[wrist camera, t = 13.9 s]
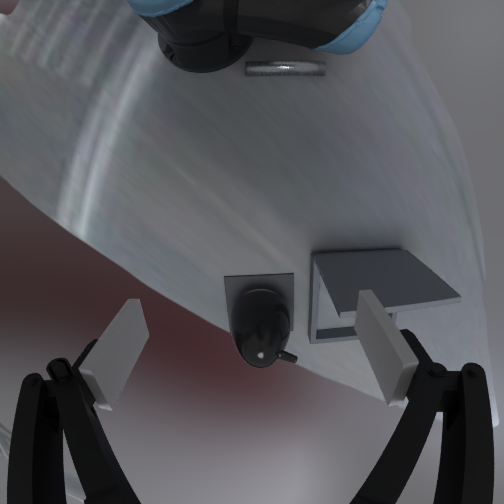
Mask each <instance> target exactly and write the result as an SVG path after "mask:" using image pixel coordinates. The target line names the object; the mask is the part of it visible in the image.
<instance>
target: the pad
mask: <svg viewBox="0 0 504 504" xmlns="http://www.w3.org/2000/svg"><path fill="white" fill-rule="evenodd" d="M224 282H225V291H226V300H227V309H228V317H229V326H230V314H231V310H232V307H233V305H234V303H235V302H236V301H237V300H238V299H239V298H240V297H241V296H243V295H244V294H245V293H247V292H249V291H252V290H255V289H266V290H270V291H272V292H274V293H276V294H278V295H279V296H280V297H282V298H283V299H284V300H285V301H286V303H287V304H288V306H289V309H290V313H291V330H290V331H293V310H294V273H288V274H267V275H245V276H224ZM230 333H231V327H230Z"/></svg>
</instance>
